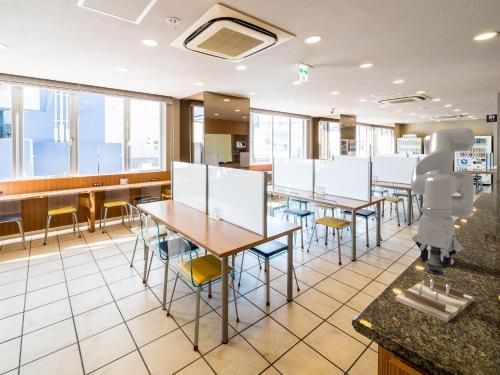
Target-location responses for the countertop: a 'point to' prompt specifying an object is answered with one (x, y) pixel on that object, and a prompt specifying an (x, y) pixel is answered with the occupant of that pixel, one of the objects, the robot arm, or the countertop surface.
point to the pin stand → (435, 299)
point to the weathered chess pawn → (435, 262)
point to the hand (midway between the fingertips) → (435, 263)
